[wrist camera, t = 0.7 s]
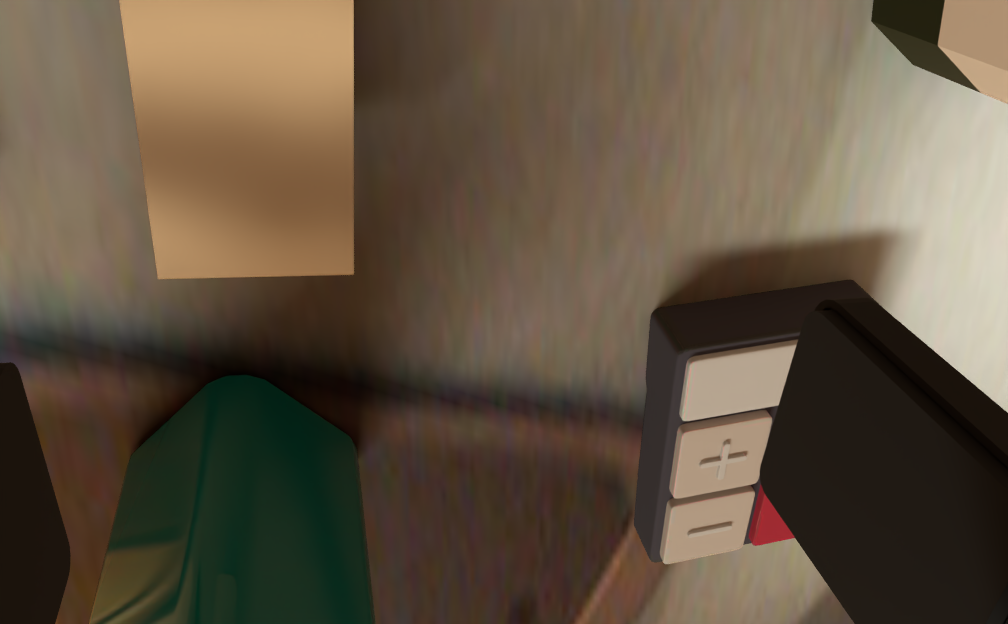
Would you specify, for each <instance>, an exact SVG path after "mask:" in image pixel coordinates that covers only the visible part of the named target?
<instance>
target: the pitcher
mask: <svg viewBox="0 0 1008 624" xmlns="http://www.w3.org/2000/svg"><path fill="white" fill-rule="evenodd" d="M88 624H375V615H374V605H373V596H372V586H371V577H370V568H369V558H368V549H367V539H366V530H365V520H364V511H363V501H362V492H361V482H360V473H359V464H358V454H357V448H356V446H355V445H354V443H353V441H352V440H351V438H350V437H349V435H348V434H346V433H345V432H343V431H342V430H340V429H339V428H337V427H336V426H334V425H333V424H331V423H330V422H328V421H327V420H325V419H324V418H322V417H321V416H319V415H318V414H316V413H315V412H313V411H312V410H310V409H309V408H307V407H306V406H304V405H303V404H301V403H300V402H298V401H297V400H295V399H294V398H292V397H291V396H289V395H288V394H286V393H285V392H283V391H282V390H280V389H279V388H277V387H276V386H274V385H273V384H271V383H270V382H268V381H267V380H265V379H263V378H259V377H255V376H251V375H247V374H244V375H229V376H224V377H221V378H219V379H216V380H214V381H211V382H209V383H208V384H207V385H206V386H204V387H203V388H202V389H201V390H200V391H199V392H198V393H197V394H196V395H195V396H194V397H193V398H192V399H191V400H190V401H188V402H187V403H186V404H185V405H184V406H183V407H182V408H181V409H180V410H179V411H178V412H177V413H176V414H175V415H173V416H172V417H171V418H170V419H169V420H168V421H167V422H166V423H165V424H164V425H163V426H162V427H161V428H160V429H159V430H157V431H156V432H155V433H154V434H153V435H152V436H151V437H150V438H149V439H148V440H147V441H146V442H145V443H144V444H142V445H141V446H140V447H139V448H138V449H137V450H136V451H135V452H134V453H133V454H132V455H131V457H130V460H129V463H128V465H127V468H126V472H125V476H124V480H123V484H122V488H121V492H120V496H119V500H118V504H117V509H116V513H115V517H114V521H113V525H112V529H111V533H110V537H109V541H108V545H107V549H106V553H105V557H104V561H103V565H102V570H101V574H100V578H99V582H98V586H97V590H96V594H95V598H94V602H93V606H92V610H91V614H90V618H89V622H88Z"/></svg>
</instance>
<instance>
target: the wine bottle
mask: <svg viewBox="0 0 1008 624" xmlns="http://www.w3.org/2000/svg"><path fill="white" fill-rule="evenodd" d="M871 21H872V22H873V23H874V24H875V26H876V27H877V28H878V29H879V30H880V31H881V32H882V33H883V34H884V35H885V36H886V37H887V38H888V39H889V40H890V41H891V42H892V43H893V44H894V45H895V46H896V48H897V49H898V50H899V51H900V52H901V53H902V54H903V55H904V56H905V57H906V58H907V59H908V60H909V61H910V62H911V63H912V64H913V65H915V66H917V67H920V68H922V69H925V70H927V71H929V72H932V73H934V74H937V75H939V76H941V77H944V78H946V79H949V80H951V81H954V82H956V83H958V84H961V85H963V86H966V87H968V88H971V89H973V90H975V91H978V92H980V93H983V94H985V95H987V96H990V97H992V98H995V99H997V100H1000V101H1002V102H1004V103H1007V104H1008V0H874V2H873V11H872V20H871Z"/></svg>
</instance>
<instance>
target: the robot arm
mask: <svg viewBox="0 0 1008 624" xmlns="http://www.w3.org/2000/svg"><path fill="white" fill-rule="evenodd" d="M760 482H761V486H762V489H763V491H764V493H765V495H766V497H767V498H768V499H769V501H770V502H771V504H772V505H773V507H774V508H775V510H776V511H777V512H778V514H779V515H780V517H781V518H782V520H783V521H784V523H785V524H786V525H787V527H788V528H789V530H790V531H791V533H792V534H793V535H794V537H795V538H796V540H797V541H798V543H799V544H800V546H801V547H802V548H803V550H804V551H805V553H806V554H807V556H808V557H809V559H810V560H811V561H812V563H813V564H814V566H815V567H816V569H817V570H818V571H819V573H820V574H821V576H822V577H823V579H824V580H825V582H826V583H827V584H828V586H829V587H830V589H831V590H832V592H833V593H834V595H835V596H836V597H837V599H838V600H839V602H840V603H841V605H842V606H843V608H844V609H845V610H846V612H847V613H848V615H849V616H850V618H851V619H852V620H853V622H854V623H855V624H1008V413H1007V412H1006V411H1005V410H1003V409H1002V408H1001V407H1000V406H999V405H998V404H996V403H995V402H994V401H993V400H992V399H990V398H989V397H988V396H987V395H986V394H984V393H983V392H982V391H981V390H980V389H978V388H977V387H976V386H975V385H974V384H973V383H971V382H970V381H969V380H968V379H967V378H965V377H964V376H963V375H962V374H961V373H959V372H958V371H957V370H956V369H955V368H954V367H952V366H951V365H950V364H949V363H948V362H946V361H945V360H944V359H943V358H942V357H940V356H939V355H938V354H937V353H936V352H935V351H933V350H932V349H931V348H930V347H929V346H927V345H926V344H925V343H924V342H923V341H921V340H920V339H919V338H918V337H917V336H916V335H914V334H913V333H912V332H911V331H910V330H908V329H907V328H906V327H905V326H904V325H902V324H901V323H900V322H899V321H898V320H896V319H895V318H894V317H893V316H892V315H891V314H889V313H888V312H887V311H886V310H885V309H883V308H882V307H881V306H880V305H879V304H877V303H876V302H875V301H873V300H872V299H870V298H865V297H858V298H842V299H826V300H824V301H822V302H820V303H819V304H818V306H817V307H816V308H815V311H813V312H810V313H809V314H808V315H807V316H806V317H805V320H804V322H803V325H802V328H801V332H800V335H799V338H798V342H797V345H796V348H795V352H794V355H793V358H792V362H791V365H790V368H789V372H788V375H787V378H786V382H785V385H784V389H783V392H782V395H781V399H780V402H779V405H778V409H777V412H776V415H775V419H774V422H773V425H772V429H771V432H770V435H769V439H768V442H767V445H766V449H765V452H764V455H763V459H762V462H761V466H760ZM69 571H70V546H69V542H68V538H67V534H66V531H65V527H64V524H63V521H62V517H61V514H60V510H59V507H58V503H57V500H56V496H55V493H54V490H53V486H52V483H51V479H50V476H49V472H48V469H47V465H46V462H45V459H44V455H43V452H42V448H41V445H40V441H39V438H38V434H37V431H36V428H35V424H34V421H33V417H32V414H31V410H30V407H29V403H28V400H27V397H26V393H25V390H24V386H23V383H22V379H21V376H20V373H19V371H18V368H17V367H16V365H15V364H13V363H11V362H10V363H0V624H55V622H56V619H57V615H58V612H59V608H60V605H61V601H62V598H63V594H64V591H65V587H66V584H67V580H68V576H69Z"/></svg>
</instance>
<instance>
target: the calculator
mask: <svg viewBox="0 0 1008 624" xmlns="http://www.w3.org/2000/svg"><path fill="white" fill-rule="evenodd" d="M858 297H865V298H870V299H872V300H873V301H875V300H874V299H873V298H872V297H871V296H870V295H869V294H868V293H866V292H865V291H864V290H863V289H862V288H861V287H860V286H859V285H858V284H857V283H856V282H855V281H853V280H844V281H837V282H831V283H824V284H817V285H810V286H803V287H797V288H790V289H783V290H776V291H769V292H763V293H756V294H749V295H742V296H735V297H729V298H722V299H715V300H708V301H701V302H695V303H688V304H681V305H674V306H667V307H662V308H658V309H656V310H655V311H654V312H653V313H652V315H651V319H650V330H649V342H648V355H647V367H646V385H647V396H646V405H645V414H644V423H643V432H642V441H641V450H640V459H639V469H638V481H637V493H636V505H635V517H634V526H635V528H636V530H637V533H638V535H639V537H640V539H641V541H642V544H643V546H644V548H645V550H646V552H647V554H648V556H649V558H650V560H651V561H652V562H661V561H663V563H664V564H671V563H676V562H680V561H685V560H690V559H695V558H700V557H705V556H709V555H714V554H719V553H724V552H729V551H734V550H738V549H740V548H742V546H743V545H744V544H749V543H752V544H753V545H755V546H757V545H763V544H767V543H772V542H777V541H782V540H787V539H792V538H795V537H794V535H793V534H792V533H791V531H790V530H789V528H788V527H787V525H786V524H785V523H784V521H783V520H782V518H781V517H780V515H779V514H778V512H777V511H776V510H775V508H774V507H773V505H772V504H771V502H770V501H769V499H768V498H767V497H766V495H765V493H764V491H763V489H762V486H761V482H760V466H761V462H762V459H763V455H764V452H765V449H766V445H767V442H768V439H769V435H770V432H771V429H772V425H773V422H774V419H775V415H776V412H777V409H778V405H779V402H780V399H781V395H782V392H783V389H784V385H785V382H786V378H787V375H788V372H789V368H790V365H791V362H792V358H793V355H794V352H795V348H796V345H797V342H798V338H799V335H800V332H801V328H802V325H803V322H804V320H805V317H806V316H807V315H808V314H809V313H810V312H813V311H815V308H816V307H817V306H818V304H819V303H820V302H822V301H824V300H826V299H842V298H858ZM875 302H876V301H875ZM876 303H877V302H876ZM877 304H878V303H877ZM882 308H883V307H882ZM883 309H884V308H883Z"/></svg>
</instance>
